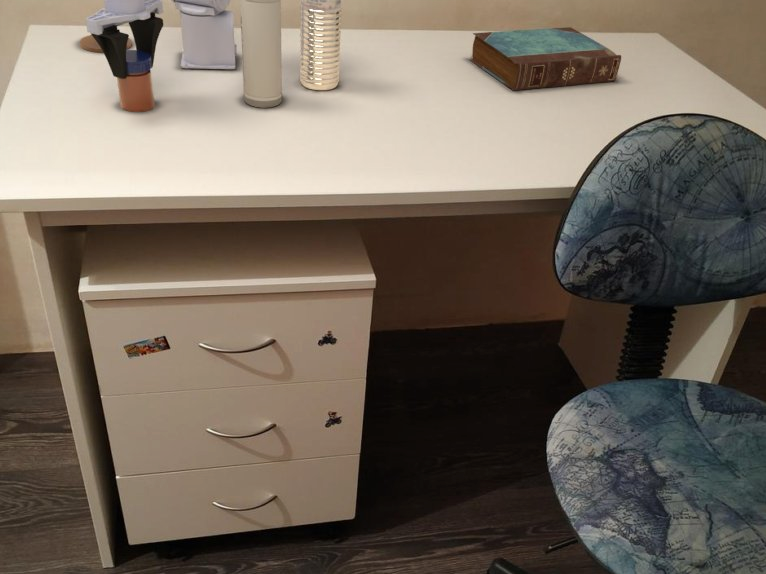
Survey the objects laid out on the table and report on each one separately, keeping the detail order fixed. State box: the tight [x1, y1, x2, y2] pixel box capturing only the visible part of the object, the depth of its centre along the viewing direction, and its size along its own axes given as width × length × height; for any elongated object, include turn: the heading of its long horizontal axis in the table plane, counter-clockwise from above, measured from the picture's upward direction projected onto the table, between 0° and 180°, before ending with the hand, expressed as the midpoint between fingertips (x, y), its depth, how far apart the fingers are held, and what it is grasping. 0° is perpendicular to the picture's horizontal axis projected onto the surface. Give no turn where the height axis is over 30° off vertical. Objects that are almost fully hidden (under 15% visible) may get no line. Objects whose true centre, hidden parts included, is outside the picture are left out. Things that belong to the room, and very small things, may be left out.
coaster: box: [79, 34, 132, 54], centre depth 148 cm, size 9×9×1 cm
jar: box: [116, 69, 156, 113], centre depth 126 cm, size 5×5×7 cm
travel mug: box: [239, 0, 283, 109], centre depth 127 cm, size 6×7×20 cm
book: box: [469, 26, 622, 91], centre depth 154 cm, size 23×18×5 cm
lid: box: [126, 49, 153, 73], centre depth 124 cm, size 6×6×2 cm
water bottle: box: [299, 0, 342, 91], centre depth 133 cm, size 7×7×25 cm
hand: (133, 71), depth 125 cm, fingers closed on lid, 5 cm apart
